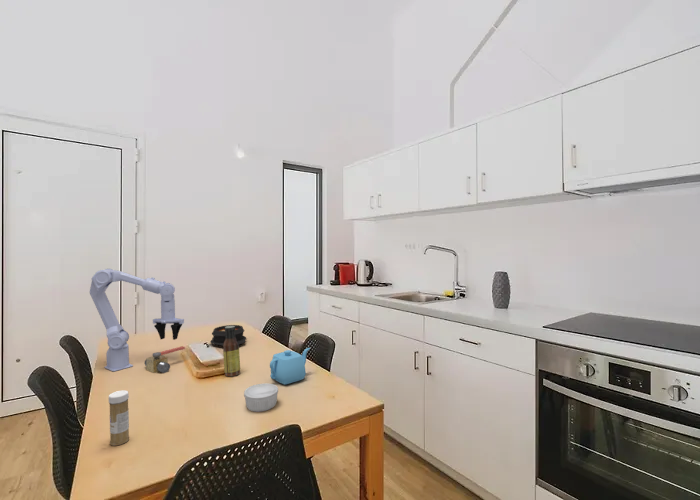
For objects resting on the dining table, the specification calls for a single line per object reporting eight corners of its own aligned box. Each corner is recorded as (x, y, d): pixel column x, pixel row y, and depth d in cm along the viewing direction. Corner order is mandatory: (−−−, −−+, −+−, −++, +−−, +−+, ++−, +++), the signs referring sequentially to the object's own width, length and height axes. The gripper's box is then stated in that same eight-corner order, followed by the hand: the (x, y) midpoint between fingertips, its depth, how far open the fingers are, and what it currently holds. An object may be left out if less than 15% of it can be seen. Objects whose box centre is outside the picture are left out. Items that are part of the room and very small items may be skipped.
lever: (151, 356, 151) (151, 353, 151) (181, 348, 162) (181, 345, 162) (154, 357, 149) (154, 355, 149) (185, 349, 161) (185, 346, 161)
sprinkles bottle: (107, 442, 96) (106, 393, 95) (126, 435, 99) (125, 388, 99) (113, 448, 93) (111, 398, 92) (132, 441, 96) (130, 392, 96)
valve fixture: (142, 368, 153) (141, 355, 153) (156, 364, 158) (155, 352, 158) (158, 374, 145) (157, 361, 145) (172, 370, 150) (172, 357, 150)
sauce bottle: (243, 372, 146) (242, 325, 146) (233, 378, 140) (232, 328, 140) (230, 370, 148) (229, 324, 148) (220, 376, 142) (219, 327, 142)
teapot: (318, 377, 140) (318, 348, 139) (278, 390, 128) (277, 359, 128) (302, 369, 149) (301, 342, 149) (263, 380, 138) (262, 351, 138)
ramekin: (261, 417, 108) (260, 400, 108) (236, 408, 114) (236, 392, 114) (285, 402, 118) (285, 387, 118) (262, 395, 124) (261, 380, 124)
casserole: (253, 345, 186) (253, 329, 186) (217, 352, 175) (217, 335, 175) (238, 335, 206) (237, 321, 206) (204, 341, 195) (204, 326, 195)
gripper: (147, 311, 159) (148, 341, 159) (176, 311, 157) (177, 341, 157) (158, 308, 166) (159, 336, 166) (186, 308, 164) (187, 337, 164)
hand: (168, 339), depth 162 cm, fingers open, 6 cm apart
